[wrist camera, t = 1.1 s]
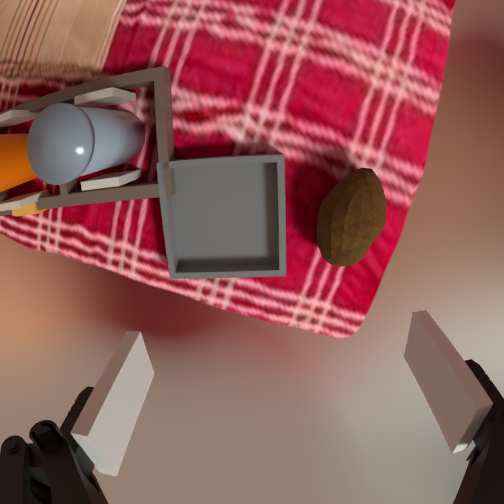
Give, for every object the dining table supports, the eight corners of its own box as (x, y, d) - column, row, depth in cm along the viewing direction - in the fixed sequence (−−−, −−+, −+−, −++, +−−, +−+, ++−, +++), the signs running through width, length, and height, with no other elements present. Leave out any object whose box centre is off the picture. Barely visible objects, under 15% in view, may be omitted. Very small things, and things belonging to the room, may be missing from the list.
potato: (303, 251, 42) (312, 276, 35) (322, 156, 37) (337, 162, 30) (360, 260, 42) (378, 285, 35) (382, 170, 38) (408, 179, 30)
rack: (-3, 118, 35) (-32, 120, 28) (170, 70, 34) (152, 59, 27) (7, 214, 41) (-20, 227, 34) (178, 195, 39) (162, 208, 33)
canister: (94, 115, 36) (24, 113, 22) (145, 105, 35) (87, 94, 22) (98, 168, 38) (31, 189, 24) (148, 162, 38) (93, 179, 24)
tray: (163, 160, 38) (156, 162, 35) (282, 153, 37) (284, 155, 35) (175, 269, 43) (170, 278, 40) (284, 266, 43) (285, 275, 40)
